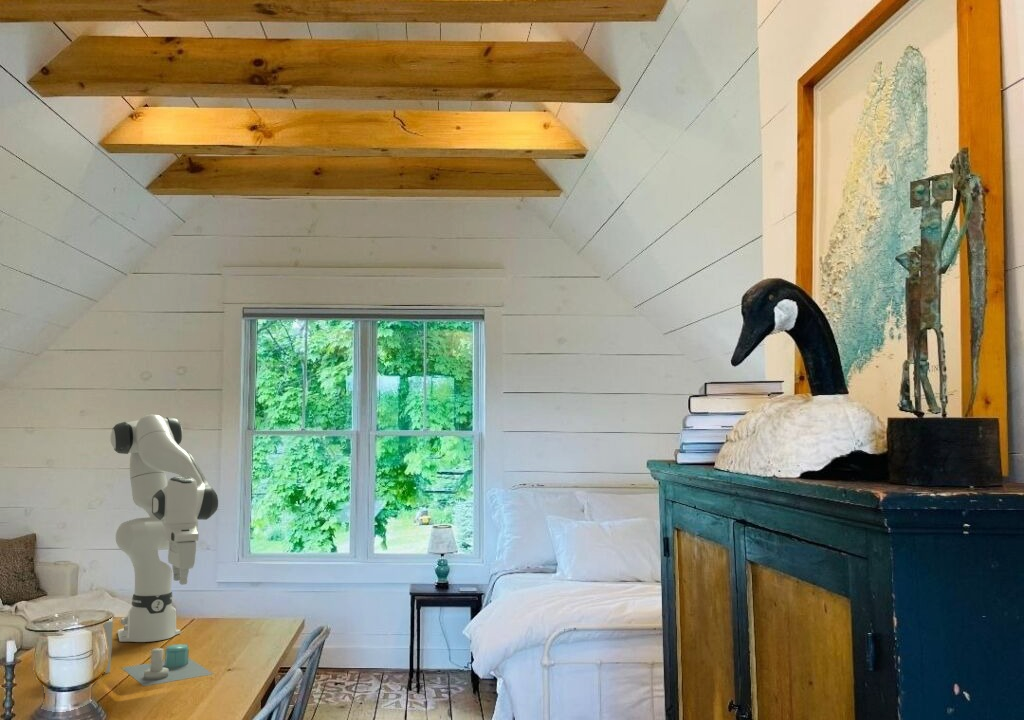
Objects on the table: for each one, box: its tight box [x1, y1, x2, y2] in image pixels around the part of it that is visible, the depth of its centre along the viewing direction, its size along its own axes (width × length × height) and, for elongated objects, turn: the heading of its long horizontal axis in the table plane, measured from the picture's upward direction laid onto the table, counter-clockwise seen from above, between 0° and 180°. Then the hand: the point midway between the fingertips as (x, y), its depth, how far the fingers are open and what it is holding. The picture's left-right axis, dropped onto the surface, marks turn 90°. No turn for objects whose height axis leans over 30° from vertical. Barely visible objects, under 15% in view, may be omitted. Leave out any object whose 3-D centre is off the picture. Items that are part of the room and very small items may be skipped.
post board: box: [121, 647, 214, 691], centre depth 222 cm, size 22×18×8 cm
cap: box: [164, 643, 190, 667], centre depth 229 cm, size 6×6×5 cm
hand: (180, 582), depth 232 cm, fingers open, 8 cm apart
